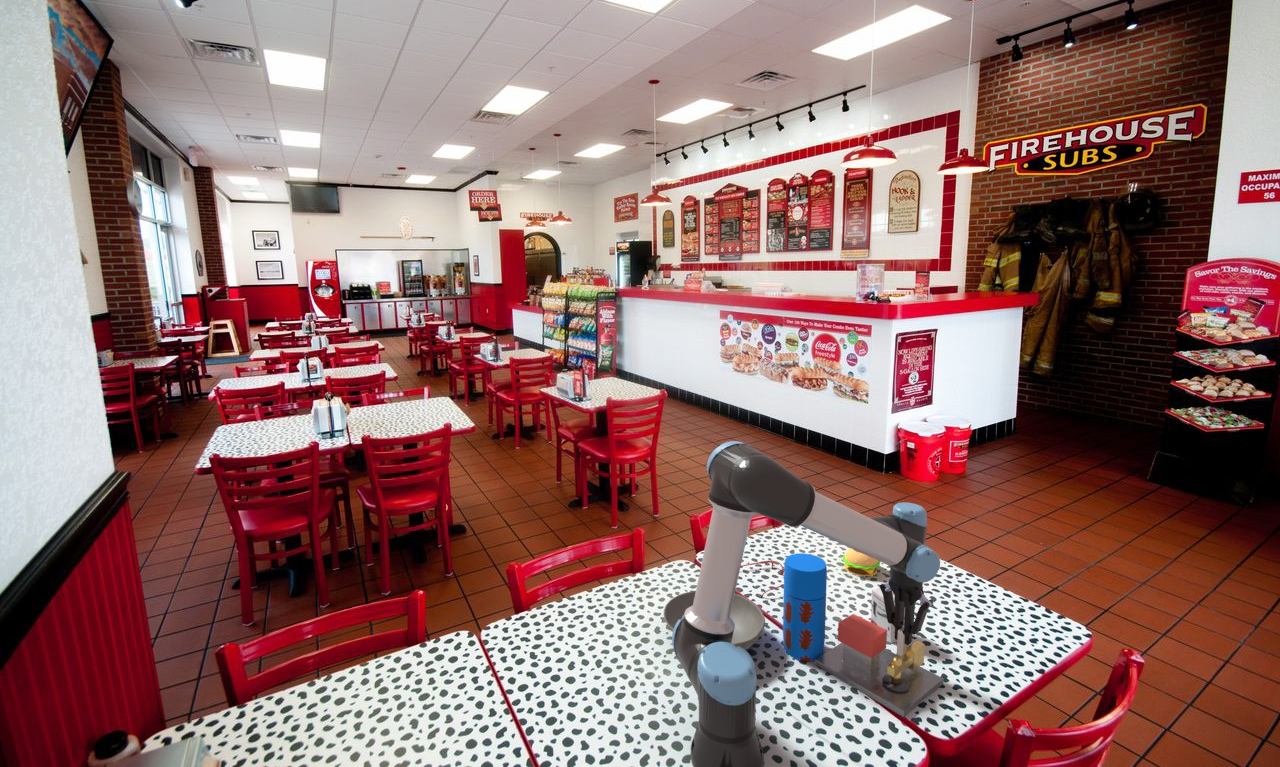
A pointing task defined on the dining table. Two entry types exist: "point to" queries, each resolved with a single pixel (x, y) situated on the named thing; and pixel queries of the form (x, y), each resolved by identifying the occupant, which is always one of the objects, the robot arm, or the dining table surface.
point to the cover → (862, 635)
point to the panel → (880, 677)
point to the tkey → (906, 661)
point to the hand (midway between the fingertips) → (902, 653)
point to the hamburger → (860, 563)
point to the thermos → (804, 606)
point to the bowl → (742, 613)
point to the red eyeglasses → (772, 567)
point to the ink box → (881, 614)
